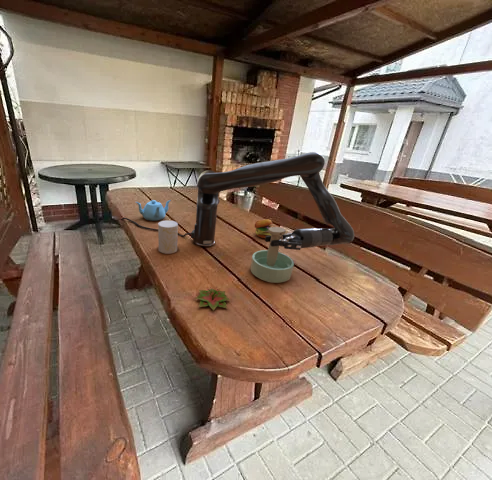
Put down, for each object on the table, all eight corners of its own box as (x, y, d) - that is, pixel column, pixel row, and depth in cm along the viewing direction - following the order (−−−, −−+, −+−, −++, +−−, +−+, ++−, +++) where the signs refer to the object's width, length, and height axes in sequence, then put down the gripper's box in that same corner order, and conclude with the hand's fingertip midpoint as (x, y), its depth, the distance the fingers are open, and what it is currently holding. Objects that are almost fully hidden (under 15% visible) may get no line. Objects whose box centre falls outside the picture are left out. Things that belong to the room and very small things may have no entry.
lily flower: (229, 290, 89) (230, 278, 88) (233, 313, 79) (234, 301, 77) (194, 288, 89) (194, 277, 87) (193, 311, 78) (193, 299, 76)
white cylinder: (162, 254, 110) (161, 228, 105) (156, 246, 116) (155, 221, 111) (180, 251, 113) (180, 226, 108) (173, 244, 120) (173, 219, 115)
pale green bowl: (249, 280, 96) (251, 265, 94) (250, 260, 110) (252, 247, 108) (292, 286, 94) (296, 272, 92) (288, 266, 108) (291, 253, 106)
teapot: (150, 212, 159) (149, 195, 154) (172, 216, 154) (172, 199, 150) (135, 219, 146) (135, 201, 142) (159, 224, 141) (159, 205, 137)
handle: (280, 266, 102) (288, 231, 96) (267, 269, 100) (273, 232, 93) (273, 260, 106) (280, 226, 100) (260, 263, 104) (266, 227, 97)
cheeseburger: (267, 241, 130) (266, 221, 127) (250, 239, 138) (249, 220, 135) (279, 236, 136) (278, 217, 133) (262, 234, 144) (261, 216, 141)
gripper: (298, 222, 107) (260, 224, 102) (321, 236, 95) (280, 239, 90) (294, 239, 110) (257, 242, 105) (316, 254, 98) (276, 259, 93)
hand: (268, 241), depth 97 cm, fingers closed on handle, 3 cm apart
